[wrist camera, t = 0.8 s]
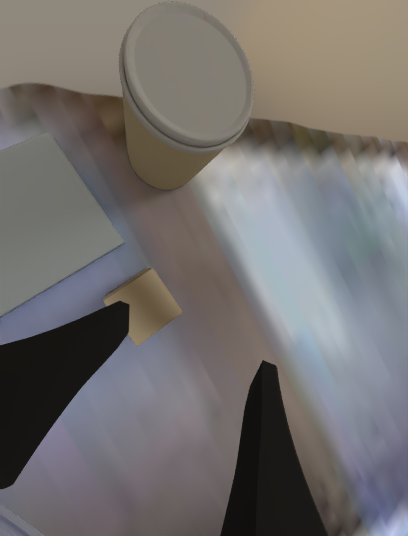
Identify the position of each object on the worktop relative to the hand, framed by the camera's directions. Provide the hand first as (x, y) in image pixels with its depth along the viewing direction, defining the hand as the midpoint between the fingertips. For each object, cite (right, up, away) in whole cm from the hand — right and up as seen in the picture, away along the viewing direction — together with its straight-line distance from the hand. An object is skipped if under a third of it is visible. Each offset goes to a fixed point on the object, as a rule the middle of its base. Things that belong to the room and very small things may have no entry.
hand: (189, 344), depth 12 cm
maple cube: (-6, 0, +14) cm, 15 cm away
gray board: (-17, +7, +10) cm, 21 cm away
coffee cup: (-4, +16, +15) cm, 22 cm away
